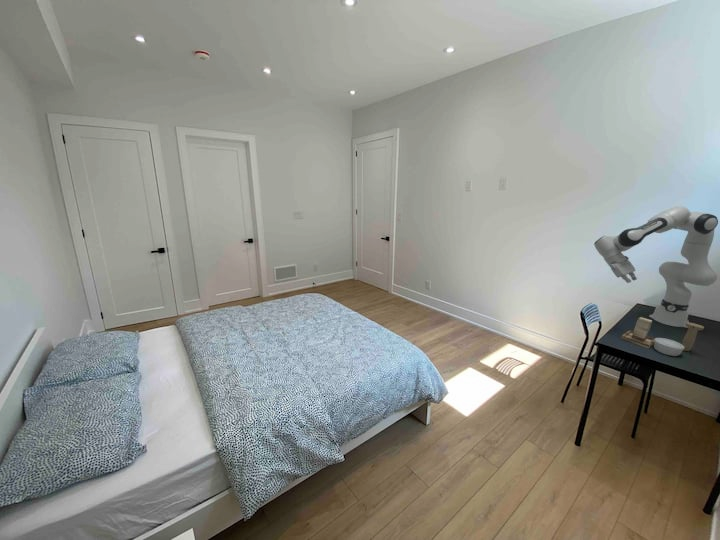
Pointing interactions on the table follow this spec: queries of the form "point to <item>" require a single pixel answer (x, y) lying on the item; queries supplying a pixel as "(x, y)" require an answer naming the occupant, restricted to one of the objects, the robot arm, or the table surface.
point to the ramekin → (668, 346)
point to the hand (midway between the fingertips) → (632, 281)
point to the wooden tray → (628, 337)
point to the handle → (691, 335)
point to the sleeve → (641, 329)
